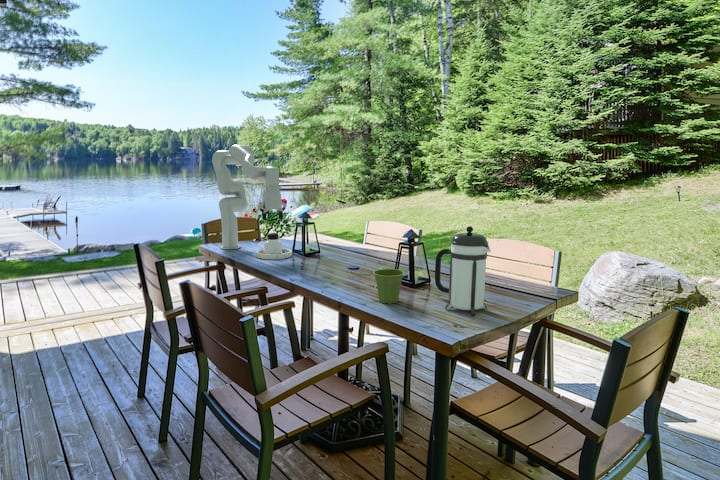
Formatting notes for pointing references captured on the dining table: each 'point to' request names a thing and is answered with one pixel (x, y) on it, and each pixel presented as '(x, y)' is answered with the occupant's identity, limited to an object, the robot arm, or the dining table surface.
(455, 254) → the coffee press
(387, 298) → the plant pot
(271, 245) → the medicine bottle
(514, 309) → the dining table surface
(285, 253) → the tray
